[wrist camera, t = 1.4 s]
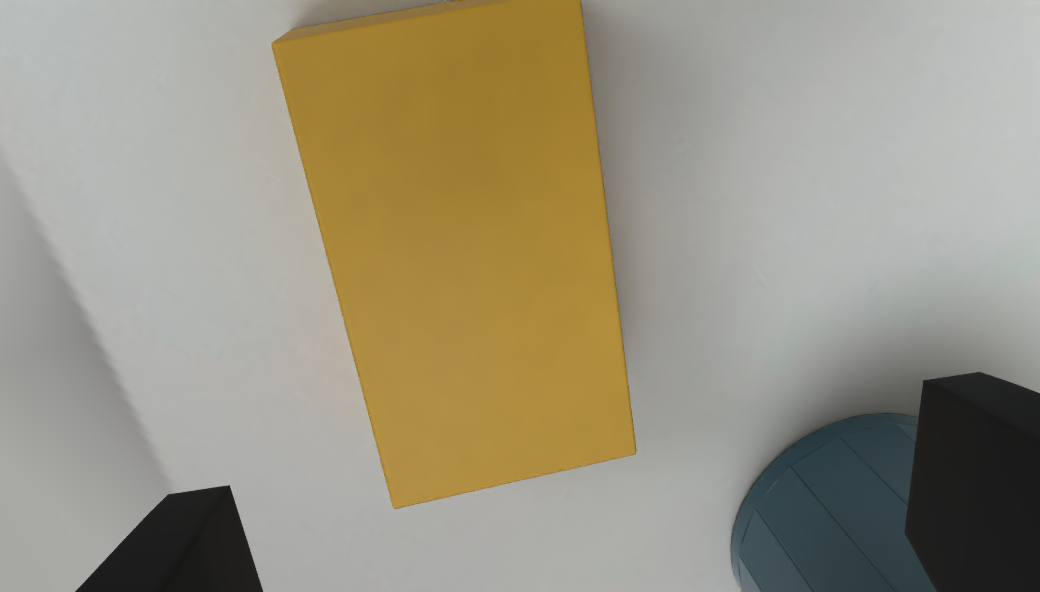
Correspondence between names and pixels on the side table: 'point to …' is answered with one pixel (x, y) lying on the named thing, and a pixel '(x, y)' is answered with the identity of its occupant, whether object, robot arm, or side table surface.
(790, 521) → the coffee cup
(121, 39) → the side table surface
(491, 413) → the block
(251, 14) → the side table surface
